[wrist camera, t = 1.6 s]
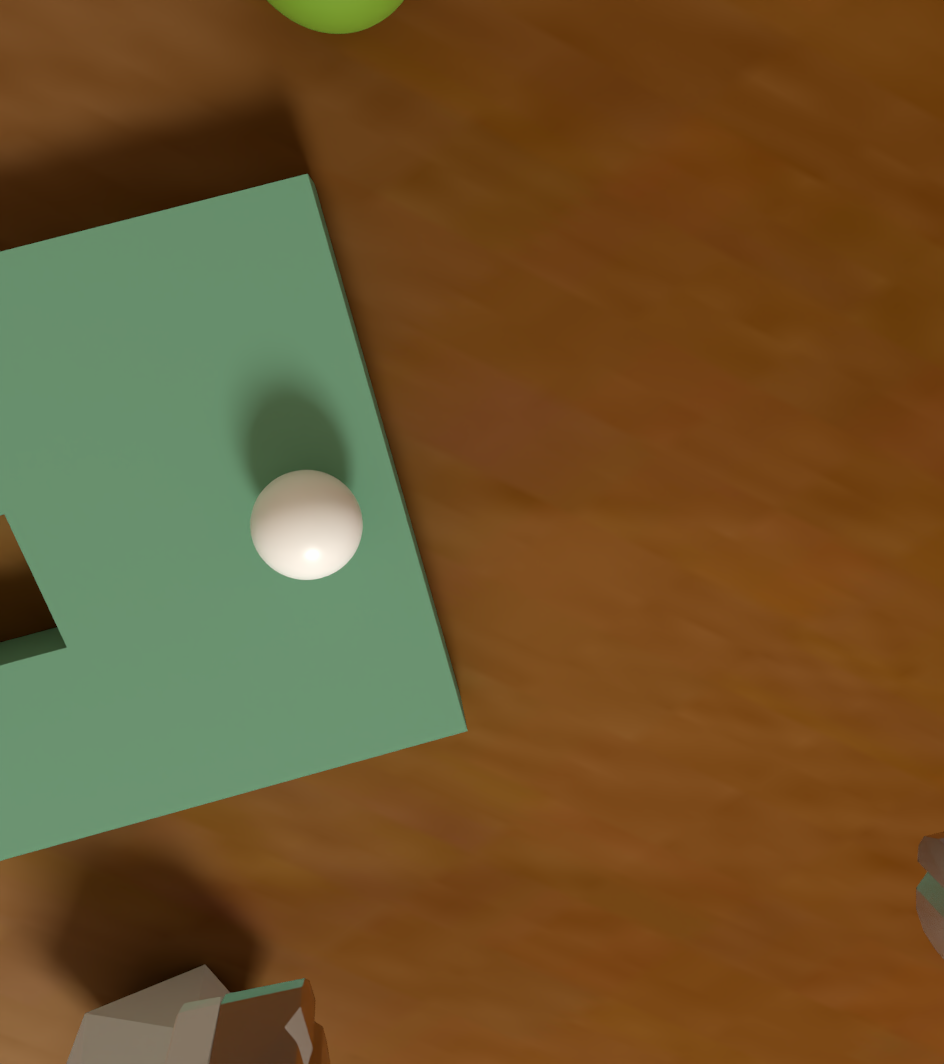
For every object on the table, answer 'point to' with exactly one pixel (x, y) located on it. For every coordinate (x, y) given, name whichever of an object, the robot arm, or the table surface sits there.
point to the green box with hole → (195, 522)
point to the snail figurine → (336, 13)
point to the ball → (306, 524)
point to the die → (141, 1021)
